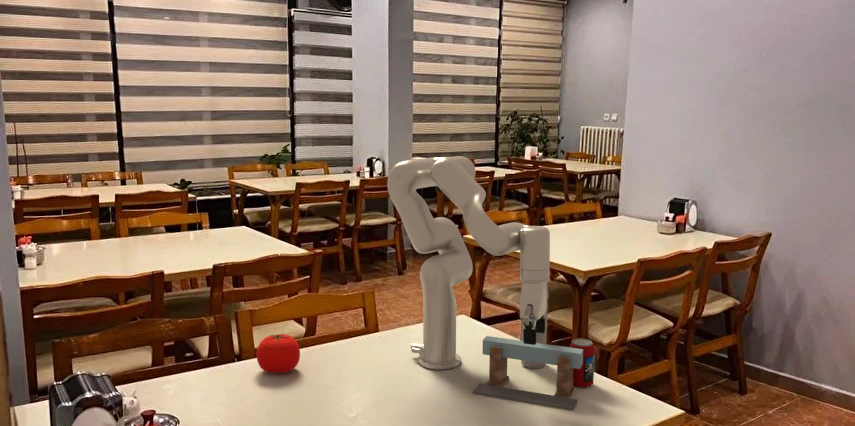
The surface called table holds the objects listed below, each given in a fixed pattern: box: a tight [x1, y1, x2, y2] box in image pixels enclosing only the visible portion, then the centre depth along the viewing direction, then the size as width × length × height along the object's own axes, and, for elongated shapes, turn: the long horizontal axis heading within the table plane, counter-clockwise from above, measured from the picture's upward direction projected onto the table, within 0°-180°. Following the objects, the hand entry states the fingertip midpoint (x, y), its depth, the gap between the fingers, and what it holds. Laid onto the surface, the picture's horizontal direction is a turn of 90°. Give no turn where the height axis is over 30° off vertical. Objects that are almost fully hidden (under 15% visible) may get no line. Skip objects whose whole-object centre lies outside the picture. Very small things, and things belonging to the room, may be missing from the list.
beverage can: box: [568, 337, 596, 389], centre depth 184 cm, size 7×7×12 cm
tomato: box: [255, 332, 301, 374], centre depth 192 cm, size 12×12×10 cm
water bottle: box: [519, 281, 550, 370], centre depth 197 cm, size 9×8×25 cm
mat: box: [472, 382, 578, 412], centre depth 176 cm, size 26×6×1 cm, turn 67°
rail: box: [482, 335, 583, 369], centre depth 181 cm, size 26×4×4 cm, turn 67°
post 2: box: [553, 355, 576, 398], centre depth 178 cm, size 4×7×11 cm, turn 157°
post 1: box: [486, 346, 510, 387], centre depth 185 cm, size 4×7×11 cm, turn 157°
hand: (534, 338), depth 180 cm, fingers open, 9 cm apart
